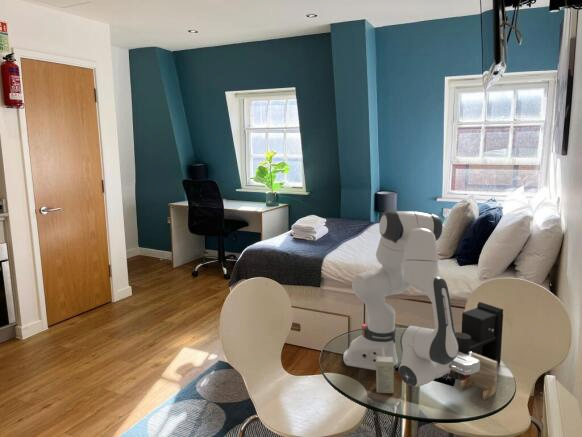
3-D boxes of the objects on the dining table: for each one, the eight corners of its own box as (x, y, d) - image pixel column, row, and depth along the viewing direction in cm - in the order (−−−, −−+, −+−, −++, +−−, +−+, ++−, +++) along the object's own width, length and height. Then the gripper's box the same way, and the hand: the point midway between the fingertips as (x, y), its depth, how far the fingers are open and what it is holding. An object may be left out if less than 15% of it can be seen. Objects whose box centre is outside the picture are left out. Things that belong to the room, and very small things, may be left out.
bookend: (464, 381, 167) (467, 322, 163) (440, 369, 176) (443, 313, 172) (501, 364, 179) (504, 309, 175) (477, 354, 188) (480, 301, 184)
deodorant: (454, 370, 160) (457, 331, 158) (470, 376, 156) (474, 336, 154) (446, 375, 156) (449, 335, 154) (462, 382, 152) (466, 340, 150)
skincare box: (393, 387, 163) (393, 356, 161) (393, 394, 159) (394, 362, 157) (375, 386, 164) (375, 355, 162) (375, 392, 160) (376, 361, 158)
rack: (484, 400, 154) (486, 368, 152) (460, 389, 161) (462, 358, 159) (495, 393, 158) (497, 361, 156) (471, 382, 165) (473, 352, 163)
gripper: (466, 365, 138) (490, 352, 146) (413, 342, 155) (437, 332, 163) (465, 383, 139) (489, 370, 147) (413, 359, 156) (437, 348, 164)
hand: (462, 350), depth 155 cm, fingers closed on deodorant, 6 cm apart
